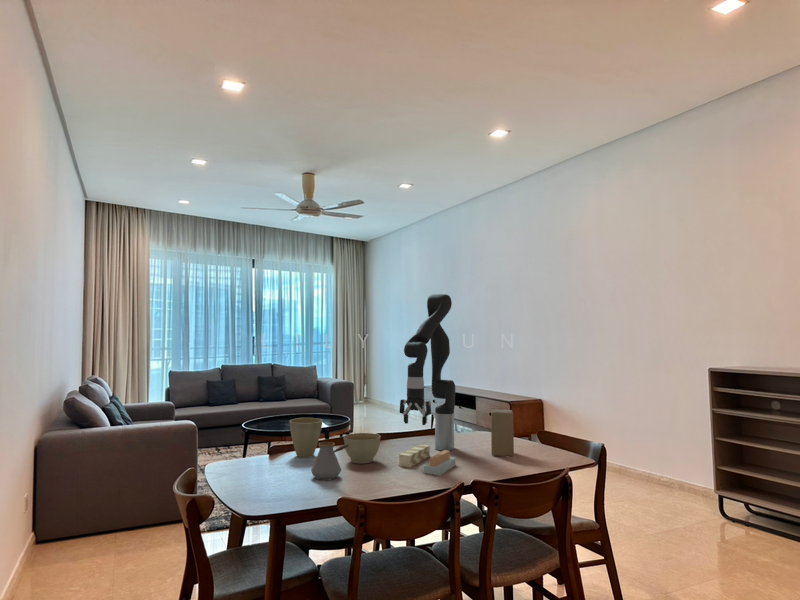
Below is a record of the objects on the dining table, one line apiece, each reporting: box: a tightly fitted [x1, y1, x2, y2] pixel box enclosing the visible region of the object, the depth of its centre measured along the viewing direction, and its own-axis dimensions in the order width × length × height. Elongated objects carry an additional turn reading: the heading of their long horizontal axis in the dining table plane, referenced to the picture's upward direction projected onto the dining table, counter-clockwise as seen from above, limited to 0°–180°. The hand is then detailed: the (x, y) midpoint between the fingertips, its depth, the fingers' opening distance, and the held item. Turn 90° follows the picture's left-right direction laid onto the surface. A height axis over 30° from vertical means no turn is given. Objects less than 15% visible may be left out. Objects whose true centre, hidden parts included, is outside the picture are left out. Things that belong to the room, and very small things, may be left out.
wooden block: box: [490, 408, 515, 458], centre depth 236 cm, size 10×10×20 cm
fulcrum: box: [422, 450, 456, 476], centre depth 209 cm, size 18×7×6 cm, turn 154°
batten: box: [398, 444, 431, 468], centre depth 223 cm, size 22×5×5 cm, turn 155°
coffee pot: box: [311, 441, 351, 481], centre depth 192 cm, size 21×12×15 cm, turn 38°
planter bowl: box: [343, 432, 381, 465], centre depth 221 cm, size 16×16×11 cm
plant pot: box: [289, 417, 324, 458], centre depth 231 cm, size 15×15×16 cm
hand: (415, 424), depth 224 cm, fingers open, 8 cm apart
